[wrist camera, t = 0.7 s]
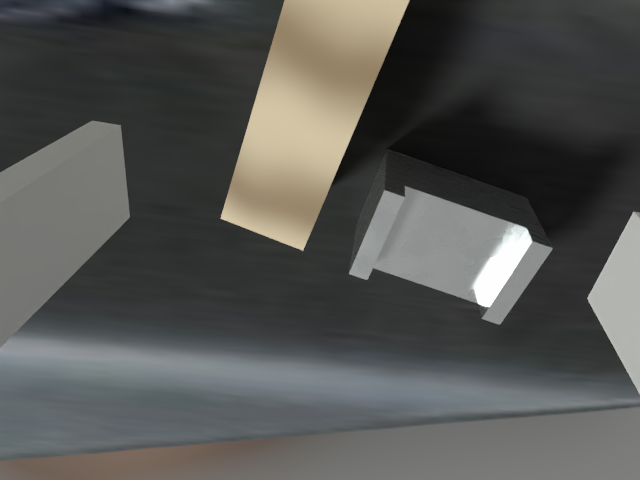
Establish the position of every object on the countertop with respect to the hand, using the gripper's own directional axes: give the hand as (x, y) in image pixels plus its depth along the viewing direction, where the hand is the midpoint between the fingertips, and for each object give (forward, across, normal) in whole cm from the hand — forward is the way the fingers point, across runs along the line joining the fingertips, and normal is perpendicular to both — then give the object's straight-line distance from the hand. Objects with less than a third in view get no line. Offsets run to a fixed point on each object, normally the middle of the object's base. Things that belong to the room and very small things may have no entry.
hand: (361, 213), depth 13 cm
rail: (+20, -3, +1) cm, 20 cm away
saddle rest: (+19, +6, -9) cm, 22 cm away
